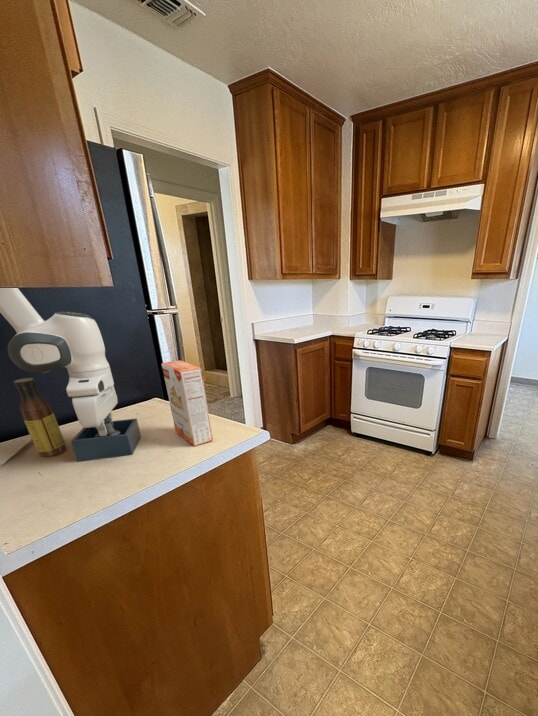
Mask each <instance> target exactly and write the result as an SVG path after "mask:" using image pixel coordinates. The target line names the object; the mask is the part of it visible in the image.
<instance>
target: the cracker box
mask: <svg viewBox="0 0 538 716" xmlns="http://www.w3.org/2000/svg"><path fill="white" fill-rule="evenodd" d="M161 369H162V373H163V378H164V382H165V387H166V392H167V396H168V402H169V406H170V410H171V416H172V420H173V425H174V430H175V431H174V432H176V433H177V434H178V435H179V436H180V437H182V438H183V439H184V440H185V441H187V442H188V443H190V445H192V446H193V447H197V446H200V445H203V444H207V443H209V442H210V443H211V442H212V441H214V437H213V433H212V426H211V419H210V415H209V407H208V402H207V395H206V389H205V383H204V377H203V371H202V370H203V369H202V368H201V367H199V366H197V365H193V364H191V363H189V362H186V361H183V360H181V359H180V360H174V361H166V362H162V363H161Z"/></svg>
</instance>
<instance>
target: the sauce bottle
mask: <svg viewBox="0 0 538 716" xmlns="http://www.w3.org/2000/svg"><path fill="white" fill-rule="evenodd" d="M13 384H14V387H15V388H16V389H17V391H18V394H19V397H20V399H21V400H20V403H19V406H18V407H19V409H18V410H19V411H20V414H21V416H22V418H23V419H22V420H23V422H24V424H25V426H26V429H27V432H28V434H29V436H30V438H31V440H32V443H33V445H34V447H35V450H36V451H37V453H38V455H39V456H41V457H51V456H57V455H59V454H62V453H64V452H65V451H66V450H67V446H66V441H65V438H64V436H63V434H62V431H61V428H60V426H59V423H58V421H57V418H56V415H55V413H54V411H53V409H52V407H51V404H50V402H49V401H48V400H47V399H45V398H44V397H43V396H42V395H41V393H40V392H39V389H38V386H37V381H36V380H35V378H34V377H26V378H25V377H24V378H20V379H16V380H14V381H13Z"/></svg>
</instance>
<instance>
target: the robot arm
mask: <svg viewBox="0 0 538 716" xmlns="http://www.w3.org/2000/svg"><path fill="white" fill-rule="evenodd" d="M0 314H1V315H2V316H3V318H4V319H5V320H6V321H7V322H8V323H9V324H10V326H11V327H12V328H13V329H14V330H15V332H16V334H15V335H14V336H13V337H12V338H11V339H10V340H9V342H8V344H7V355H8V357H9V359H10V361H12V363H13V364H14V365H15V366H16V367H18V368H19V369H21V370H23V371H26V372H28V373H32V374H45V373H49V372H52V371H56V370H59V369H62V368H66V369H67V373H68V383H67V386H66V388H65V390H66V394H67V396H68V397H69V398H71V403H72V406H73V409H74V411H75V415H76V417H77V420H78V423H79V424H80V425H81V426H82V427H84V428H90V427H96V429H97V430H98V433H99V435H100V436H106V435H107V434H108V429H107V427H105V424H104V423H105V422H104V419H105V418H106V417H107V416H108V414H109V417H110V418H111V419H112V420H111V423H112V427H113V421H114V420H113V409H115V407H116V406H118V404H119V402H118V400H119V399H118V395H117V393H116V389H115V386H114V385H115V381H114V377H113V374H112V371H111V370H112V369H111V366H110V363H109V361H108V360H107V357H106V347H105V343H104V339H103V336H102V332H101V331H100V328H99V325H98V324H97V321H96V320H95V319H94V318H93V317H91V316H90V315H88V314H86V313H82V312H74V311H58V312H54V314H53V315H52V316H51V317H49V318H47V319H46V320H45V318H44V317H42V315H41V314H40V313H39V312H38V311H37V309H36V308H35V307H34V305H32V303H31V302H30V301H29V300H28V298H27V297H26V296H25V294H23V292H22V290H21V289H20V288H19V287H18V288H0Z"/></svg>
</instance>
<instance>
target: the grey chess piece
mask: <svg viewBox="0 0 538 716" xmlns="http://www.w3.org/2000/svg"><path fill="white" fill-rule="evenodd" d="M111 420H112V421H113V418H112V419H111V418H110V417H109V414H108V416H107V417H106V418H105V419H104V422H105V423H104V424H105V427H107V429H108V434H107V435H106V436H114V435H120V431H119V430H114V428H113V427H112V423H111ZM97 437H105V436H100V435H99V433H98V434H96V435H95V438H97Z"/></svg>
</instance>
